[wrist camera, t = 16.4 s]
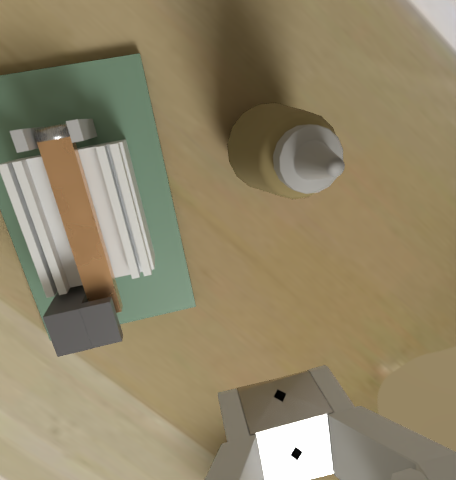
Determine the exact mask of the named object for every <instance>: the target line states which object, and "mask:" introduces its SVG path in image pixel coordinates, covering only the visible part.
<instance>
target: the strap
mask: <svg viewBox="0 0 456 480" xmlns="http://www.w3.org/2000/svg"><path fill="white" fill-rule="evenodd" d="M34 132H35V137H36V140H37V144H38V147H39V151H40V154H41V157H42V160H43V163H44V166H45V169H46V172H47V175H48V179H49V182H50V185H51V188H52V191H53V194H54V197H55V200H56V203H57V207H58V210H59V213H60V216H61V219H62V222H63V225H64V228H65V231H66V235H67V238H68V241H69V244H70V247H71V250H72V253H73V256H74V259H75V263H76V266H77V269H78V272H79V275H80V278H81V281H82V284H83V287H84V291H85V294H86V297H87V300H88V302H89V301H94V300H98V299H103V298H107V297H112V300H113V303H114V307H115V310H116V313H118V312H122V307H123V305H122V301H121V298H120V294H119V291H118V287H117V284H116V280H115V277H114V274H113V270H112V267H111V263H110V260H109V256H108V253H107V249H106V246H105V242H104V239H103V236H102V232H101V229H100V225H99V222H98V218H97V215H96V211H95V208H94V205H93V201H92V198H91V194H90V191H89V187H88V184H87V180H86V177H85V173H84V170H83V167H82V163H81V160H80V156H79V153H78V149H77V146H76V142H74V143H72V141H71V138H70V134H69V131H68V127H67V124H66V123H65V124H59V125H54V126H48V127H42V128H36V129H35V131H34Z"/></svg>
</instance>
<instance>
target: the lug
mask: <svg viewBox="0 0 456 480" xmlns="http://www.w3.org/2000/svg"><path fill="white" fill-rule="evenodd" d="M43 320H44V322H45V325H46V328H47V330H48V333H49V335H50V338H51V341H52V343H53V346H54V349H55V351H56V354H57V356H58V357H59V356H63V355H67V354H71V353H76V352H80V351H84V350H88V349H92V348H95V347H100V346H104V345H108V344H112V343H116V342H121V341H122V339H123V333H122V330H121V326H120V323H119V320H118V317H117V313H116V310H115V307H114V303H113V300H112V297H107V298H103V299H98V300H94V301H89V302H88V300H87V297H86V294H85V291H84V287H83V285H80V286H76V287H71V288H70V289H69V291H68V292H67V294H62V295H59V293H58V292H57V294H56V295H55V297H54V299H53V300H52V302H51V304H50V305H49V307H48V309H47V311H46V312H45V314H44V316H43Z"/></svg>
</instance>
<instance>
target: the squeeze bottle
mask: <svg viewBox="0 0 456 480" xmlns="http://www.w3.org/2000/svg"><path fill="white" fill-rule="evenodd" d="M227 145H228V155H229V162H230V164H231V166H232V168H233V170H234V172H235V174H236V176H237V177H238V178H240V179H241V180H242V181H243V182H245V183H246V184H247V185H248V186H250V187H253V188H256V189H259V190H263V191H266V192H269V193H272V194H275V195H278V196H282V197H286V198H289V199H298V198H306V197H309V196H311V195H313V194H314V193H317V192H320V191H322V190H323V189H325V188H327V187H329V186H330V185H331V184H332V183H333V181H334V180H335V179H336V178H337V177H338V176H339V175H341V173H342V172H343V170H344V162H343V148H342V146H341V143H340V141H339V138H338V137H337V136H336V134H335V132H334V129H333V127H332V126H331V125H330V124H329V123H328V122H327V121H326V120H325V119H323V118H322V117H321V116H319V115H316V114H314V113H311V112H308V111H305V110H301V109H297V108H293V107H289V106H286V105H282V104H278V103H268V104H259V105H257V106H255V107H253V108H251V109H250V110H248V111H246V112H244V113H243V114H242V115H241V117H240V118H239V119H238V121H237V122H236V123H235V124H234V126H233V127H232V130H231V134H230V137H229V141H228V144H227Z"/></svg>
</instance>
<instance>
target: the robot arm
mask: <svg viewBox="0 0 456 480" xmlns="http://www.w3.org/2000/svg"><path fill="white" fill-rule="evenodd" d="M218 399H219V404H220V409H221V414H222V419H223V424H224V429H225V433H226V438H227V442H226V443H223V444H221V446H220V448H219V450H218V452H217V455H216V457H215V459H214V461H213V463H212V465H211V467H210V469H209V471H208V474H207V476H206V478H205V480H309V479H313V478H316V477H320V476H324V475H328V474H332V473H334V475H335V476H336V477H337V478H339V479H340V480H456V452H455V451H453V450H451V449H449V448H447V447H444V446H443V445H441V444H438V443H436V442H434V441H432V440H430V439H428V438H426V437H424V436H422V435H420V434H418V433H416V432H414V431H412V430H410V429H407V428H406V427H403V426H401V425H399V424H397V423H395V422H393V421H391V420H389V419H387V418H385V417H383V416H380V415H379V414H377V413H375V412H373V411H371V410H368V409H366V408H364V407H362V406H358V407H355V406H354V405H353V403H352V402H351V400H350V399H349V397H348V396H347V394H346V393H345V391H344V390H343V388H342V387H341V385H340V384H339V382H338V381H337V380H336V378H335V377H334V375H333V374H332V372H331V371H330V369H329V368H328V367H327V366H326V365H323V366H320V367H316V368H312V369H309V370H307V371H303V372H299V373H296V374H292V375H288V376H284V377H281V378H277V379H273V380H269V381H264V382H260V383H256V384H252V385H247V386H243V387H239V388H237V389H232V390H227V391H223V392H219V393H218Z"/></svg>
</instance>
